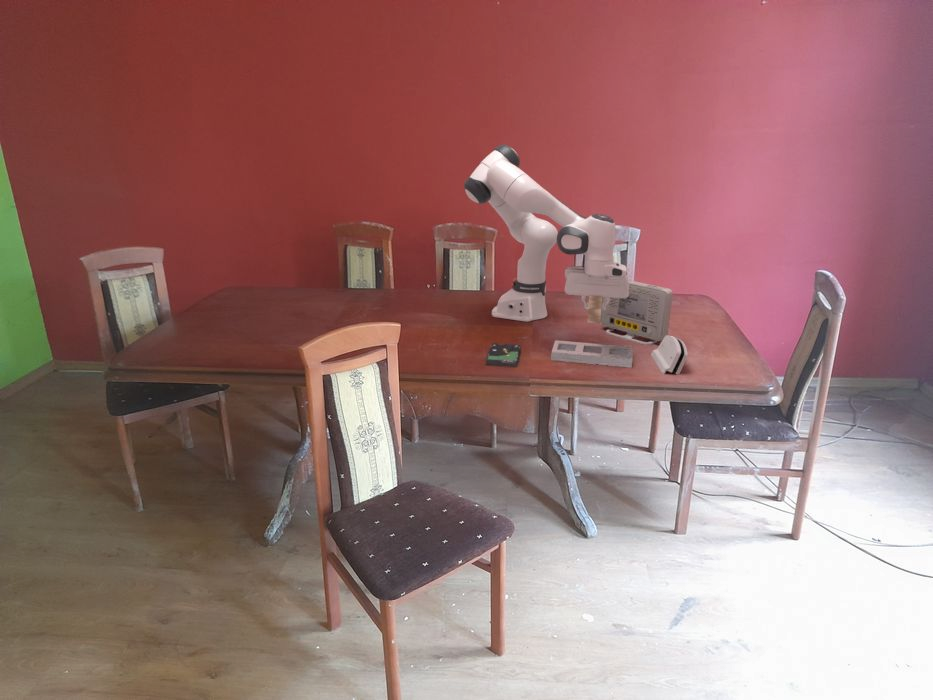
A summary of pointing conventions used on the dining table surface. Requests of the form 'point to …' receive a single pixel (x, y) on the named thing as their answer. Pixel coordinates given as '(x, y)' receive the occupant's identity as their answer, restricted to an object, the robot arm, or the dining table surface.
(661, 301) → the network device
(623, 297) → the robot arm
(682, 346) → the white rounded block
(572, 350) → the grey flat frame
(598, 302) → the maple block
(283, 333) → the dining table surface
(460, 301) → the dining table surface
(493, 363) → the disk drive
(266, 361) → the dining table surface
